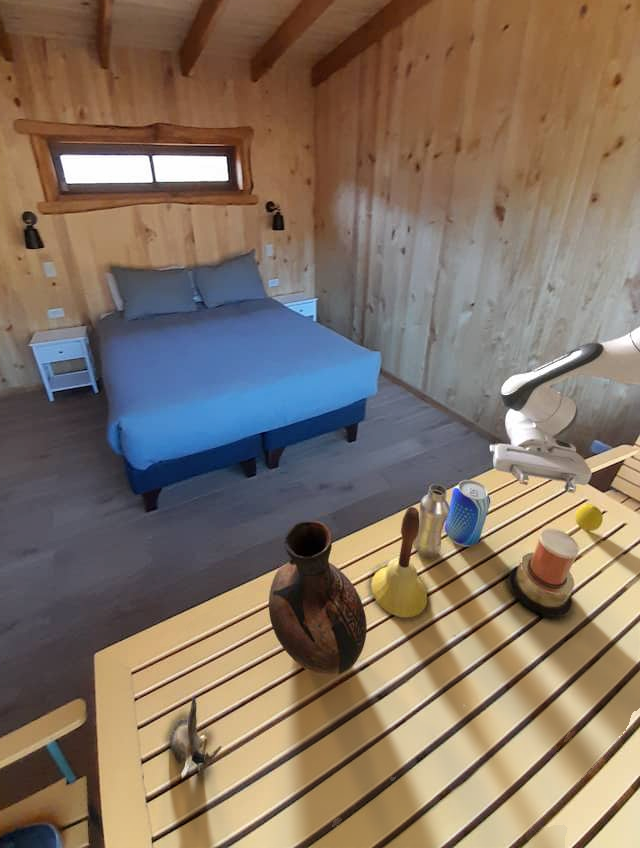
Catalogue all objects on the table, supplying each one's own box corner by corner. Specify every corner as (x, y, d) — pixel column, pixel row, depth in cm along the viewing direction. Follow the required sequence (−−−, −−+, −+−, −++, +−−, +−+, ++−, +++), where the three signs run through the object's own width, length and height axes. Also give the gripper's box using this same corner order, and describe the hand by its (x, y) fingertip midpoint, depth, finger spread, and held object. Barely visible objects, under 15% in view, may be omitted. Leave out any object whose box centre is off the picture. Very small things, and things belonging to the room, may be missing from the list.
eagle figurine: (232, 741, 67) (202, 690, 72) (213, 752, 61) (182, 696, 66) (200, 782, 65) (172, 727, 71) (177, 797, 60) (148, 737, 65)
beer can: (436, 528, 106) (447, 483, 99) (460, 518, 109) (472, 473, 102) (461, 553, 99) (474, 506, 92) (486, 542, 102) (500, 495, 95)
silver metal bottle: (419, 534, 105) (430, 475, 96) (444, 549, 100) (458, 489, 91) (406, 549, 101) (417, 489, 92) (431, 566, 96) (445, 505, 87)
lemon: (571, 517, 109) (580, 495, 105) (596, 526, 106) (607, 504, 102) (570, 530, 105) (580, 508, 101) (596, 540, 102) (607, 518, 98)
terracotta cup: (560, 561, 89) (572, 532, 84) (570, 588, 83) (584, 559, 79) (526, 554, 90) (537, 525, 86) (533, 580, 85) (545, 551, 81)
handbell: (389, 556, 99) (401, 479, 88) (437, 590, 91) (457, 510, 80) (360, 590, 91) (369, 510, 80) (409, 629, 83) (427, 547, 72)
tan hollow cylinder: (560, 575, 93) (570, 554, 90) (578, 626, 83) (589, 604, 80) (503, 563, 97) (510, 541, 93) (514, 610, 86) (522, 588, 83)
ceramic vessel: (383, 668, 77) (401, 564, 64) (305, 722, 70) (307, 618, 56) (322, 580, 94) (326, 483, 80) (254, 616, 86) (246, 516, 73)
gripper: (491, 432, 104) (500, 467, 92) (581, 446, 99) (604, 484, 87) (485, 452, 107) (494, 487, 95) (573, 465, 102) (594, 505, 90)
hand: (547, 486), depth 91 cm, fingers open, 8 cm apart
